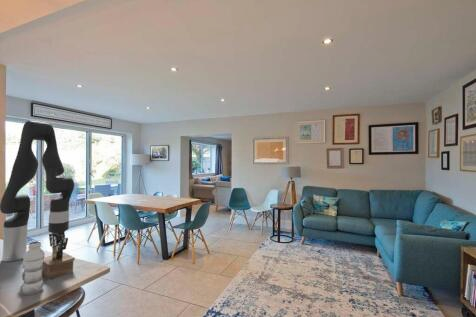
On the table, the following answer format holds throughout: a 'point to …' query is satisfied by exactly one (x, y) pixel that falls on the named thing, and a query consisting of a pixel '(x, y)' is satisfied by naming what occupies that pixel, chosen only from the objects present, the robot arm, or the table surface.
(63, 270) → the box
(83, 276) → the table surface
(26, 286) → the plastic bottle
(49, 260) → the lid
